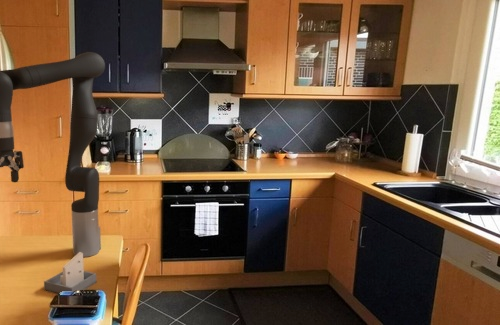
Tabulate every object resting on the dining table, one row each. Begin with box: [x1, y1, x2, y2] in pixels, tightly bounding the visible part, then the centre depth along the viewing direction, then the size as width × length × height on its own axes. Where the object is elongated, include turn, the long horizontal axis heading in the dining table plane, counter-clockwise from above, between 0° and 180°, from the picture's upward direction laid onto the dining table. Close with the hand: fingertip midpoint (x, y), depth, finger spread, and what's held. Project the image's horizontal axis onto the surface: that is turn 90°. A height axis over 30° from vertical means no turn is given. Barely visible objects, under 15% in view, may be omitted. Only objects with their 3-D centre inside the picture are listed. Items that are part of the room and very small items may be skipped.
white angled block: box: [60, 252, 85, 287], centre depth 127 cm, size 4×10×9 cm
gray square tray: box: [43, 270, 98, 295], centre depth 126 cm, size 11×11×3 cm
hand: (3, 184), depth 130 cm, fingers open, 8 cm apart
